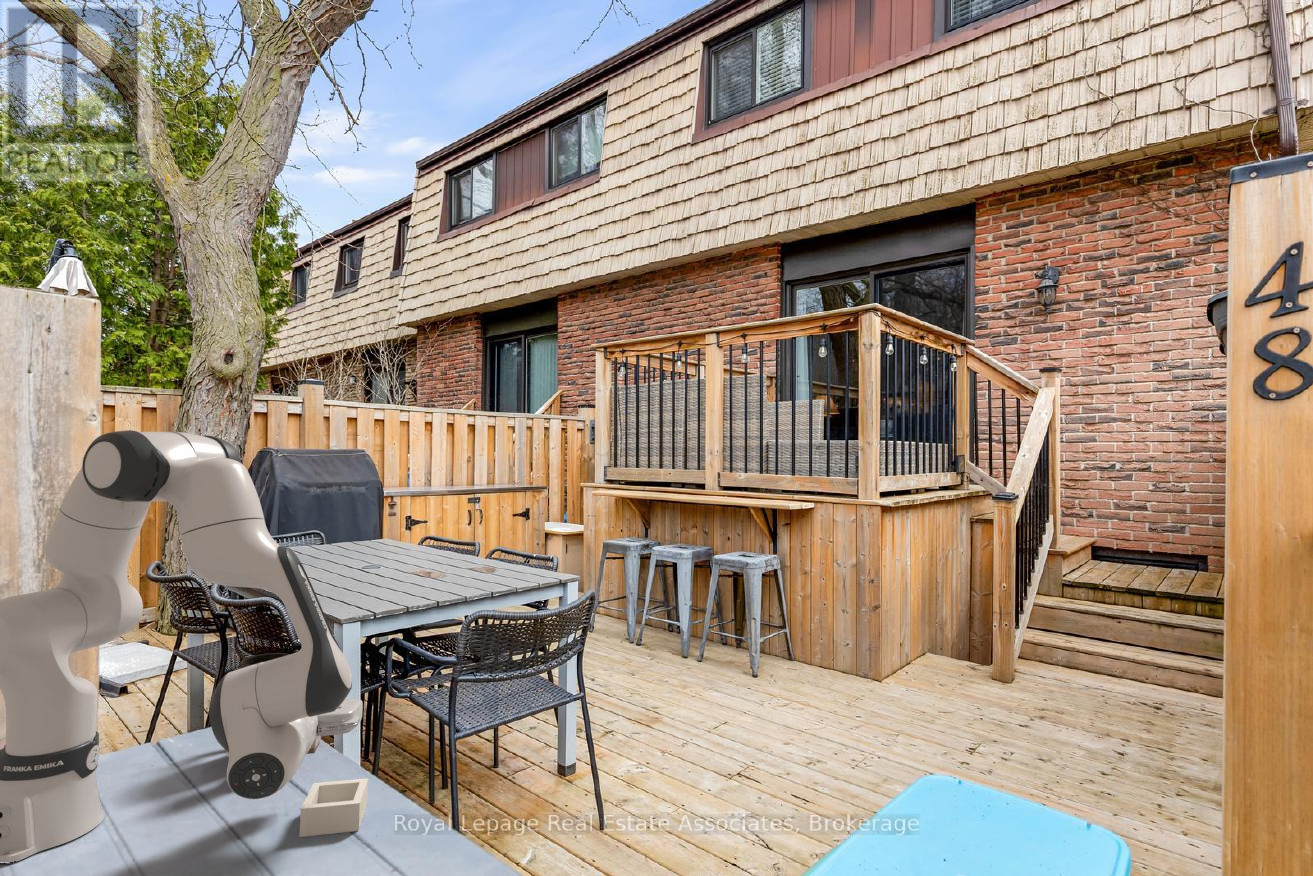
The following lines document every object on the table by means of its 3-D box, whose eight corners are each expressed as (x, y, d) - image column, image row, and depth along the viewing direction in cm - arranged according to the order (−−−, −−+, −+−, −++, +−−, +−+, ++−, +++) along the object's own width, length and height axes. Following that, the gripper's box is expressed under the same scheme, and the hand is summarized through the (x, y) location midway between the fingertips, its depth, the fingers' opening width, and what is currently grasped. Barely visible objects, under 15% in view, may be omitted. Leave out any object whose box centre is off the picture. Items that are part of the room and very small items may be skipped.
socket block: (299, 837, 110) (300, 809, 110) (312, 809, 118) (313, 783, 118) (358, 830, 112) (359, 803, 112) (367, 804, 121) (368, 778, 121)
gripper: (357, 708, 112) (370, 681, 125) (216, 717, 107) (245, 688, 120) (355, 746, 112) (368, 715, 125) (215, 758, 106) (244, 724, 120)
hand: (307, 702), depth 122 cm, fingers closed on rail, 4 cm apart
